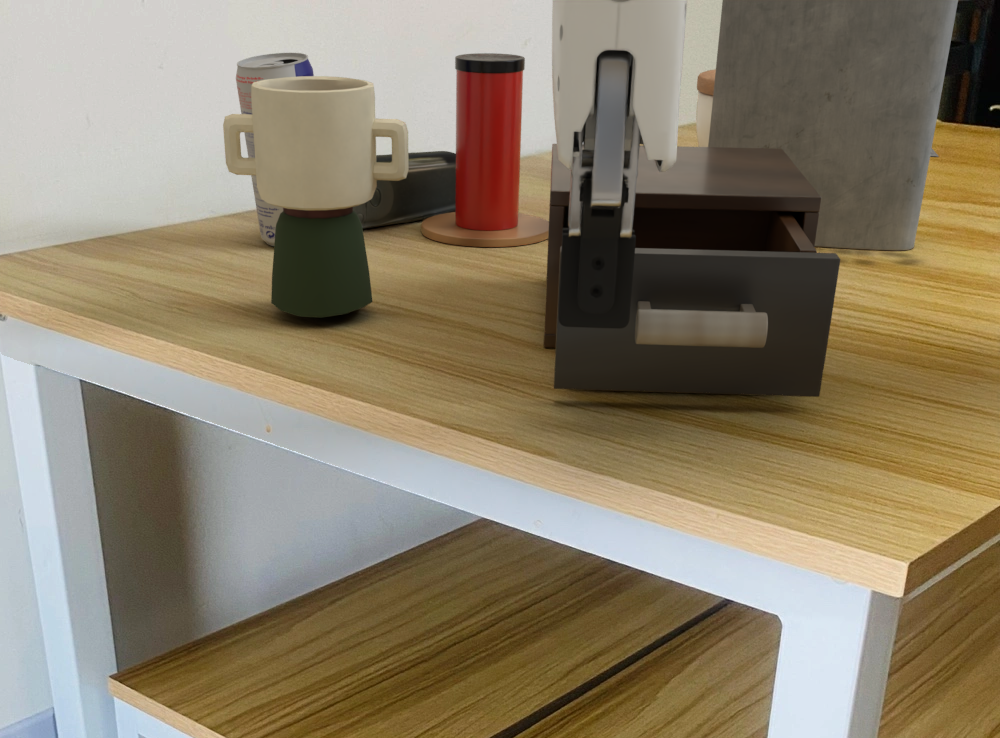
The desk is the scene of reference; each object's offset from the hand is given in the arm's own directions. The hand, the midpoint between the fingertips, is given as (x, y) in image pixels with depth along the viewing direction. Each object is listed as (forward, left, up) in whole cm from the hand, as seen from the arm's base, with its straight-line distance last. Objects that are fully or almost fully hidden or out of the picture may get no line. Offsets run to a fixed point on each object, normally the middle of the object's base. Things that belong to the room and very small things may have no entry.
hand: (592, 321), depth 63 cm
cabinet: (-5, -23, -6) cm, 24 cm away
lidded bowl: (-16, -64, -6) cm, 66 cm away
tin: (+7, -45, -5) cm, 46 cm away
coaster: (+7, -45, -6) cm, 46 cm away
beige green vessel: (+16, -21, -6) cm, 27 cm away
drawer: (-5, -10, -5) cm, 12 cm away
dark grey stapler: (+15, -47, -6) cm, 50 cm away
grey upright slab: (-17, -45, -6) cm, 49 cm away
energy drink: (+21, -40, -6) cm, 46 cm away
